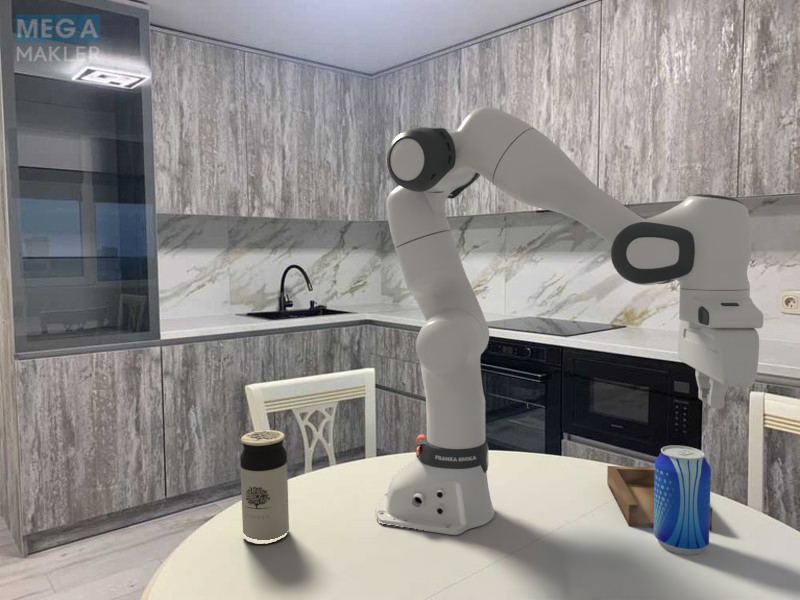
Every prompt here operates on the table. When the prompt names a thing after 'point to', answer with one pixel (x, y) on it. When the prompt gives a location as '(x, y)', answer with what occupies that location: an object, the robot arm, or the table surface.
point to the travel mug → (264, 485)
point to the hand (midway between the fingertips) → (710, 404)
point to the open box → (635, 494)
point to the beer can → (682, 500)
